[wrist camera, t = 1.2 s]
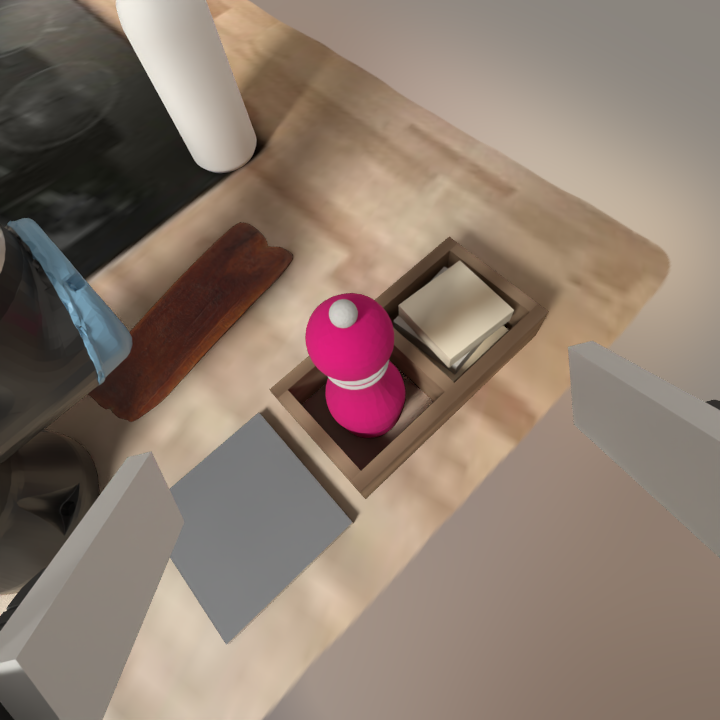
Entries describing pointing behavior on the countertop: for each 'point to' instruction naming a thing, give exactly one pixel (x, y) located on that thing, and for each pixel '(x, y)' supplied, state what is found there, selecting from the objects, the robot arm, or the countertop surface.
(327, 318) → the pepper mill
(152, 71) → the alcohol
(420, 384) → the tray
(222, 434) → the countertop surface
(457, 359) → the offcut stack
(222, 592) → the slate tile
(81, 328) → the robot arm
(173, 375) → the wooden tablet
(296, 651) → the countertop surface
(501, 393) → the countertop surface
